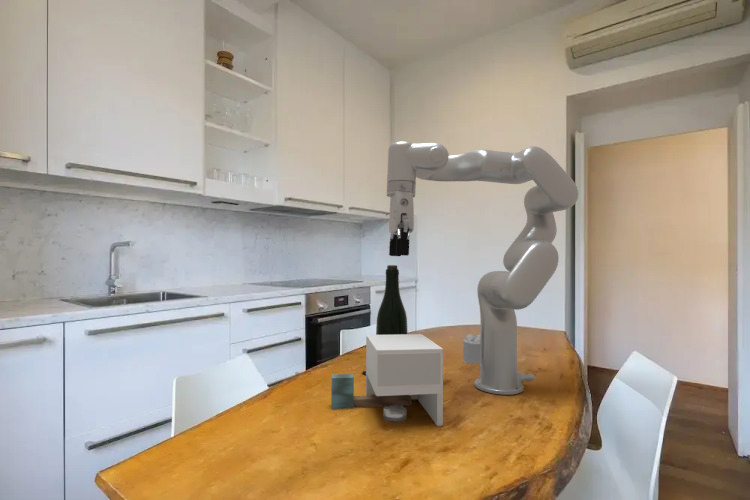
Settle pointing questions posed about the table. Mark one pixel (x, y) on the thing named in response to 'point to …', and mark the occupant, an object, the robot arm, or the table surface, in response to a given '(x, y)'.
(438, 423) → the cabinet
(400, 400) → the mallet
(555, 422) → the table surface
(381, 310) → the dark green wine bottle
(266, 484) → the table surface
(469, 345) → the lumpy-topped squat cylinder
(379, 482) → the table surface
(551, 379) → the table surface
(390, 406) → the silver metal dome
